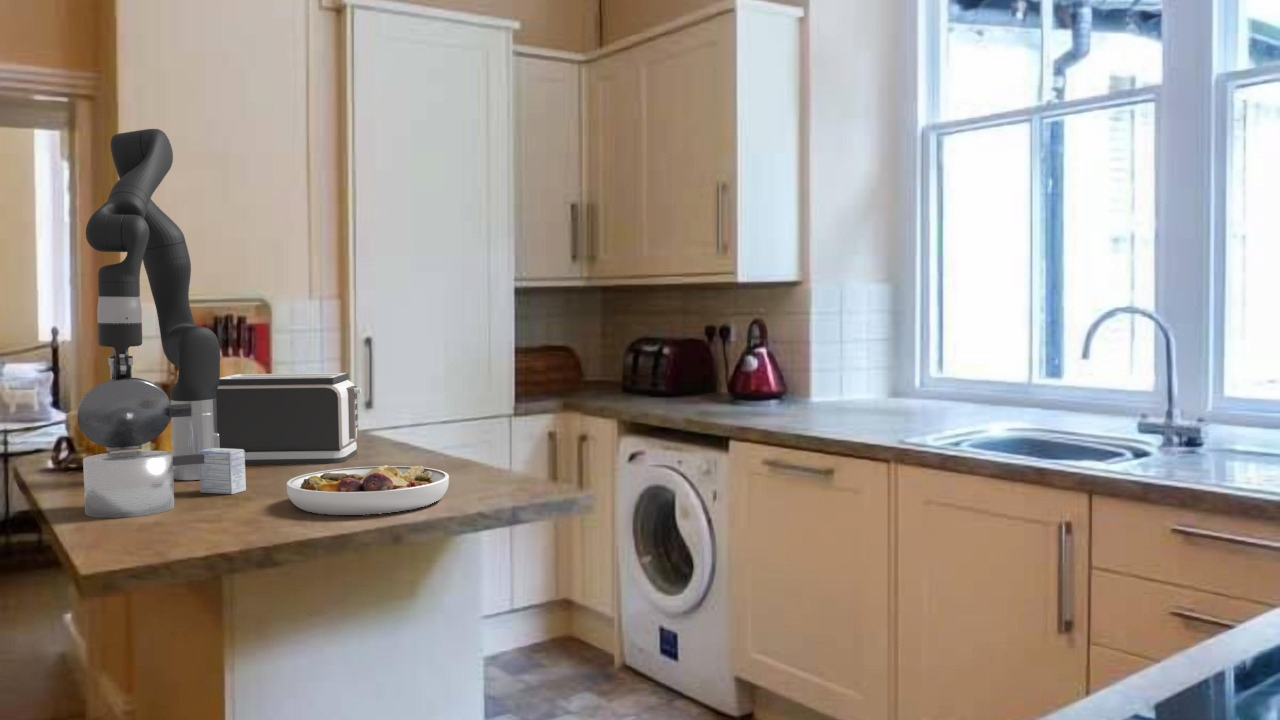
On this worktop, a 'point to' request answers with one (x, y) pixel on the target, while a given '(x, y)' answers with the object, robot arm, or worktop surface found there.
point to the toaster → (288, 417)
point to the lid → (126, 413)
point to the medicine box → (223, 471)
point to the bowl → (367, 489)
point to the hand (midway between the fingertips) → (121, 412)
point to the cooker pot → (131, 482)
